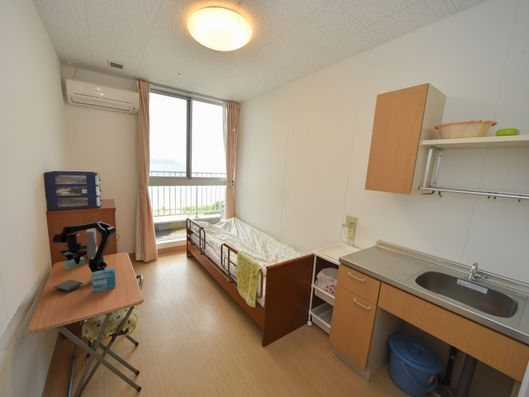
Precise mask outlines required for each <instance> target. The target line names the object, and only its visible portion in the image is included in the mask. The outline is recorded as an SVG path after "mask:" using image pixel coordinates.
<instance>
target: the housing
mask: <svg viewBox="0 0 529 397" xmlns="http://www.w3.org/2000/svg"><path fill="white" fill-rule="evenodd" d="M85 264H86V260H85V257H84V256H82V257H81V258H80V262H79V264H78V265H77V264H76V263H75V261H74V259H73V260H69V261H68V260H67V261H64V262H63V267H64V269H67V270H69V269H73V268H75V267H79V266H82V265H85Z"/></svg>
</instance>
